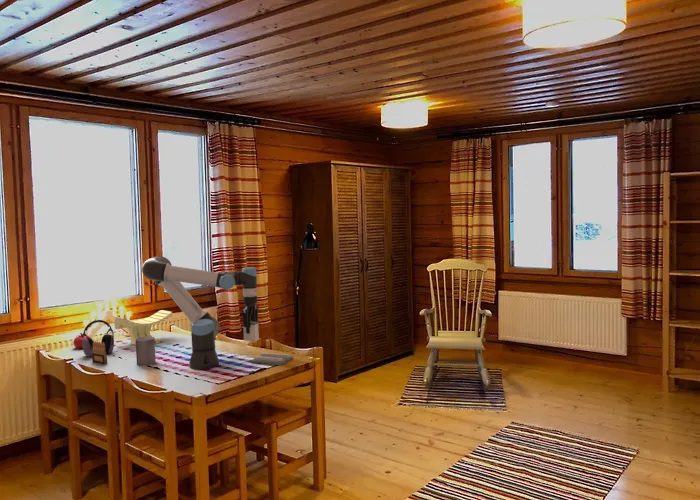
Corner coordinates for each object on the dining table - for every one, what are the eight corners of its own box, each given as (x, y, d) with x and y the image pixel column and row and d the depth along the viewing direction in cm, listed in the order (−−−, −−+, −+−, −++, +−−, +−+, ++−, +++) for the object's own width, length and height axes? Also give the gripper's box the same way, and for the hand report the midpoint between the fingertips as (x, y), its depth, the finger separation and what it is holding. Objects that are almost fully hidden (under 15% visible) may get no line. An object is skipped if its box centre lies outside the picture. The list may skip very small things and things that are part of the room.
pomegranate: (93, 347, 352) (92, 332, 351) (75, 350, 346) (74, 335, 345) (90, 345, 360) (89, 330, 359) (72, 347, 354) (71, 332, 354)
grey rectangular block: (255, 341, 315) (254, 323, 314) (243, 340, 317) (243, 322, 317) (258, 339, 319) (258, 321, 318) (247, 339, 321) (247, 321, 320)
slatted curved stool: (160, 336, 379) (159, 309, 377) (173, 339, 368) (172, 311, 367) (115, 345, 357) (114, 316, 356) (128, 349, 346) (126, 319, 345)
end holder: (280, 365, 300) (280, 360, 300) (250, 362, 307) (250, 357, 306) (292, 358, 313) (292, 353, 313) (263, 356, 320) (263, 351, 320)
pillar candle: (136, 362, 315) (134, 335, 313) (155, 359, 318) (153, 333, 317) (137, 366, 306) (135, 338, 304) (156, 364, 309) (155, 336, 308)
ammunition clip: (92, 362, 318) (91, 340, 317) (95, 361, 319) (94, 339, 318) (104, 364, 312) (103, 342, 311) (107, 363, 313) (106, 341, 312)
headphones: (116, 352, 337) (114, 318, 336) (87, 358, 325) (85, 323, 324) (109, 350, 344) (107, 317, 342) (80, 356, 332) (78, 321, 330)
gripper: (248, 298, 307) (249, 342, 309) (263, 293, 323) (264, 335, 325) (235, 297, 310) (237, 341, 311) (251, 293, 326) (253, 334, 327)
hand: (251, 338), depth 318 cm, fingers closed on grey rectangular block, 4 cm apart
